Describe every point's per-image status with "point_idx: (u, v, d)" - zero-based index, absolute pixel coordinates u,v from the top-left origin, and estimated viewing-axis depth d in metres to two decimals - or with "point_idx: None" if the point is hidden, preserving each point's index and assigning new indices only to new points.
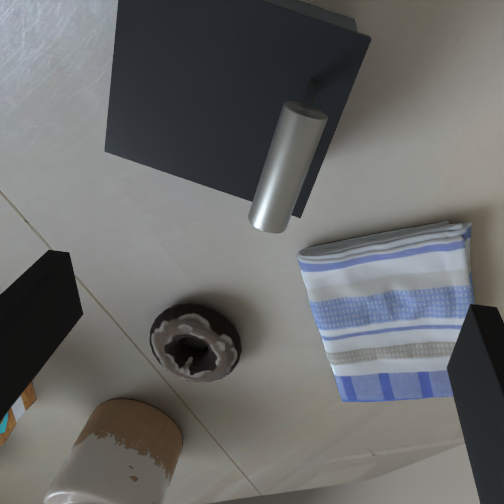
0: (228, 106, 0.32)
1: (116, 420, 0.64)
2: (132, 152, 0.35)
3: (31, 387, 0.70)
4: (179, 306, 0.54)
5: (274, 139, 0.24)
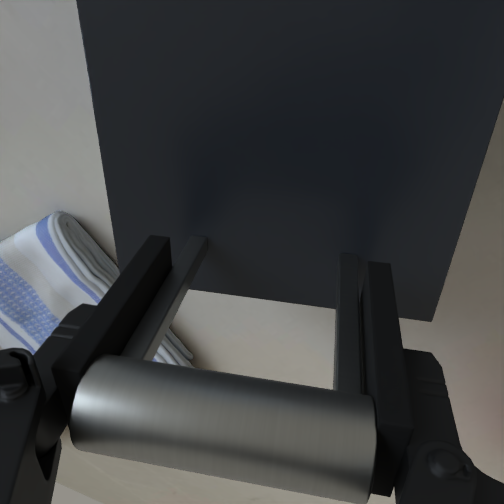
0: (274, 120, 0.15)
1: None
2: None
3: None
4: None
5: (293, 423, 0.10)
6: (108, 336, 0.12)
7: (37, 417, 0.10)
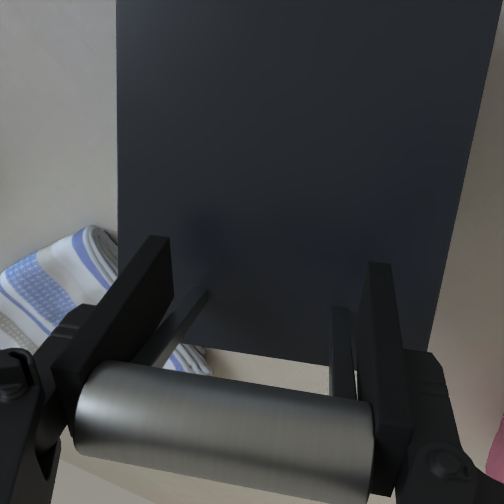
0: (274, 181, 0.18)
1: None
2: None
3: None
4: None
5: (294, 415, 0.10)
6: (108, 336, 0.12)
7: (37, 417, 0.10)
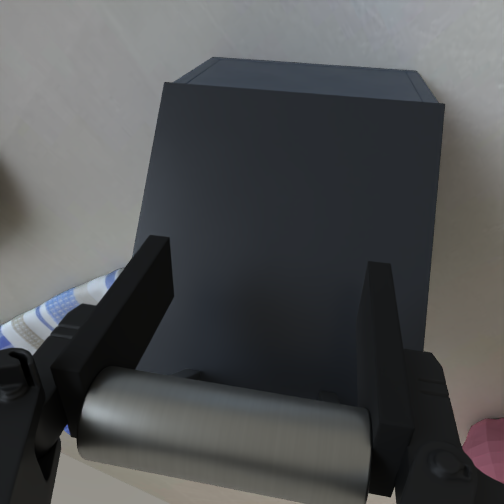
0: (269, 269, 0.20)
1: None
2: (170, 125, 0.22)
3: None
4: None
5: (295, 405, 0.11)
6: (107, 336, 0.12)
7: (37, 417, 0.10)
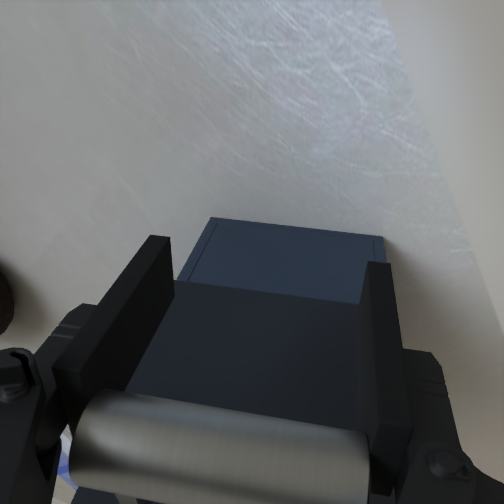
0: None
1: None
2: (172, 307, 0.26)
3: None
4: None
5: (293, 420, 0.12)
6: (108, 336, 0.12)
7: (37, 417, 0.10)
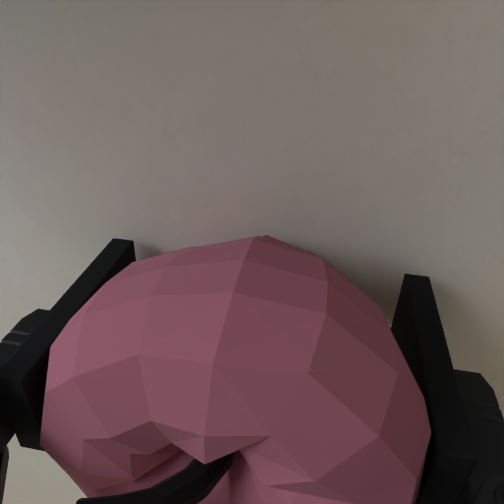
0: None
1: None
2: None
3: None
4: None
5: None
6: None
7: None
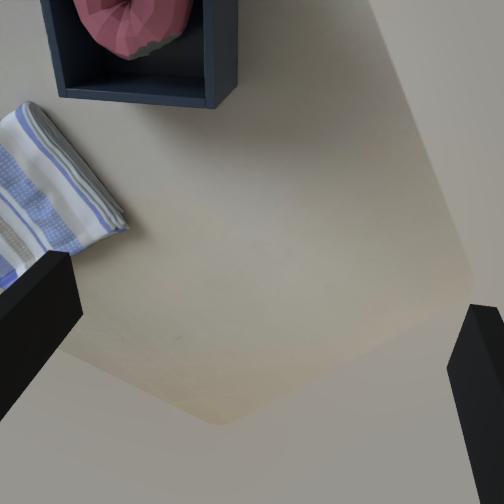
0: None
1: None
2: None
3: None
4: None
5: None
6: None
7: None
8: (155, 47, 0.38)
